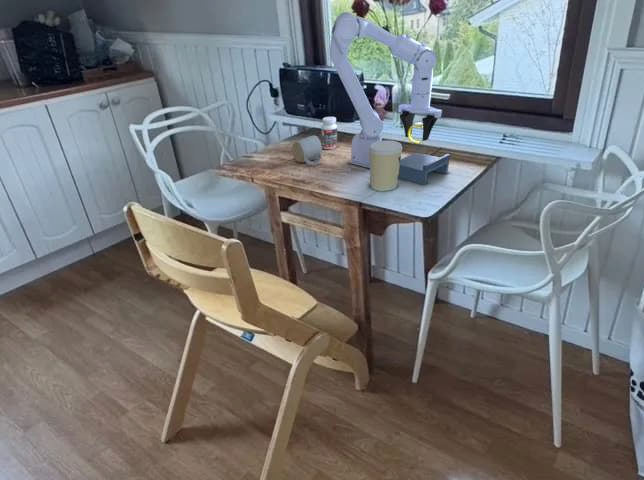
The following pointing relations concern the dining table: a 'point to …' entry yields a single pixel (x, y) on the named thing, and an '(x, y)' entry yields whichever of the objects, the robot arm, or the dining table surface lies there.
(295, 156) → the ceramic mug
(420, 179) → the blue stand
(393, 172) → the coffee cup
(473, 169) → the dining table surface
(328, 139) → the pill bottle
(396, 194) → the dining table surface
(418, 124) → the watch
